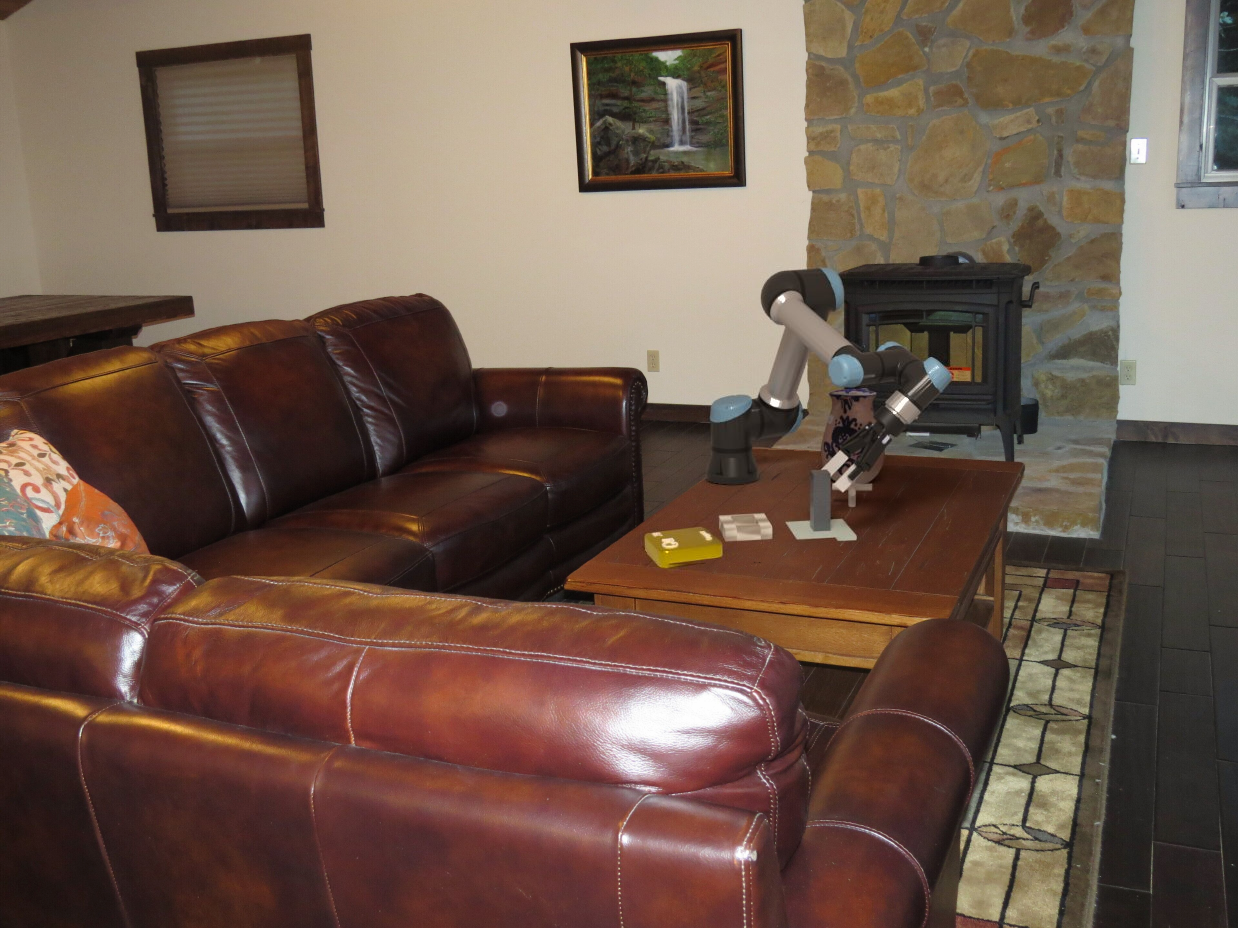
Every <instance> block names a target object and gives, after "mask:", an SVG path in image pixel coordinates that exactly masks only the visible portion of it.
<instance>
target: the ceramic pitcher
mask: <svg viewBox="0 0 1238 928" xmlns="http://www.w3.org/2000/svg"><path fill="white" fill-rule="evenodd" d="M828 395H829V397H830V399H831V410H830V413H829V416H828V418H827V423H826V426H825V429H824V432H823V435H822V440H821V444H820V462H821V464H822V468H823V467H824V466H825V465H826V464H827V463H828V462H829V461H830V460H831V459H832V458H833V457H834V456H835V455H836V454H837V453H838V452H839V451H841V450H840V449H841V446H840V445H841V444H842V443H843V442H844V441H846V440H847V439H848V438H850V437H851V436H852V435H854V434H855V433H856V432H858V431H859V430H860V429H862V428H863V427H864V426H865V425H866V424H867V423H868V422H870V421H871V422H872V423H873V424H875V423H876V422H877V421H876V420H875V419H874V418H873V415H874V414H875V411H874V407H873V404H874V403H873V401H874V399H875V398H876V397H877V391H876V392H875V391H873V390H869V389H868V388H867V387H865V388H858V389H857V388H851V389H850V388H849V389H839V390H833V391H830V392H829V393H828ZM865 447H866V446H865ZM865 447H863V448H861V449H859V450H858V451H856V452H854V453H853V454H851V457H850V458H848V459H847V460H846V461H845V462H844V463H843V464H842V466H841V467H840V468H839V469H838V470H837V471H836V472H835V473H834V474H833V475H832V476H831V480H833V481H835V482H836V481H837V480H838V479H839V478H840V477H841V476H842V475H843V474H844V473H845V472H846V471H847V470H848V469H849V468H850V467H851V466H852V465H853V464H854V462H855V461H858V460H859V458H860V456H861V454H862V452H863V450H864V448H865ZM885 456H886V452H885V450H884V451H883V452H882V454H881V455H880V457H879V458H878V460H877V461H876V463H875V464H874V466H873V467H872V469H871V470H870V471H869V472H867V471H865V472H863V471H862V473H861V474H860V476H859V477H858V478H857V479H856V484H869V483H870V482H871V481H872V480H873V479H875V478H876V477H877V476H878V474H879V473H880V471H881V470H882V468H883V465H884V464H885V463H884V462H885V459H886V457H885Z"/></svg>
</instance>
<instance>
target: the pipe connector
mask: <svg viewBox="0 0 1238 928" xmlns="http://www.w3.org/2000/svg"><path fill="white" fill-rule="evenodd" d="M834 483H835V482H833V483H831V484H832V487H831V491H841V490H840V489H839V488H837V487H836V486H835V485H834ZM845 491H848V495H847V496H848V497H847V499H848V507H850V508H855V507H856V501H857V500H856V499H857V495H856V493H857V491H866V492H868V491H869V492H871V491H873V483H864V484H856V480H855V481H854V482H853V483H852V484H851V485H850V486H849V487H848V488H847V489H846V490H845Z"/></svg>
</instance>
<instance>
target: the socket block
mask: <svg viewBox="0 0 1238 928" xmlns="http://www.w3.org/2000/svg"><path fill="white" fill-rule="evenodd" d="M718 528H719V531H720V533H721V535H722V536H723V539H724V542H736V541H737V542H740V541H755V540H756V541H757V540H772V539H773V526H772V524H771V522H770V521H769V519H768V518H767V516H766V514H765V512H762V513H761V512H759V513H744V514H743V513H741V514H740V513H739V514H725V515H721V514H720V515H718Z"/></svg>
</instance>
